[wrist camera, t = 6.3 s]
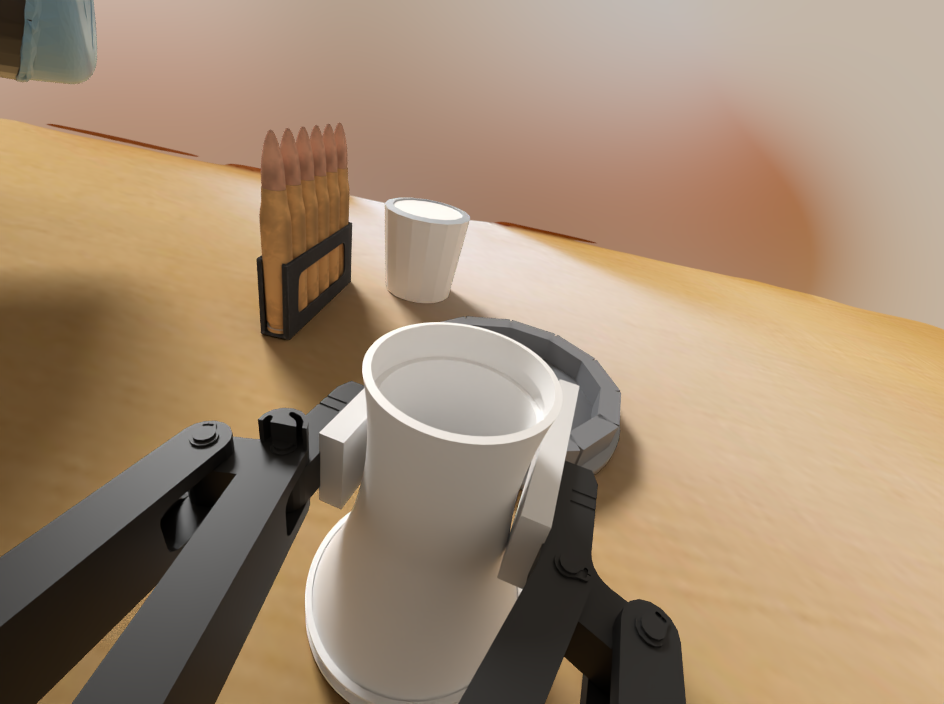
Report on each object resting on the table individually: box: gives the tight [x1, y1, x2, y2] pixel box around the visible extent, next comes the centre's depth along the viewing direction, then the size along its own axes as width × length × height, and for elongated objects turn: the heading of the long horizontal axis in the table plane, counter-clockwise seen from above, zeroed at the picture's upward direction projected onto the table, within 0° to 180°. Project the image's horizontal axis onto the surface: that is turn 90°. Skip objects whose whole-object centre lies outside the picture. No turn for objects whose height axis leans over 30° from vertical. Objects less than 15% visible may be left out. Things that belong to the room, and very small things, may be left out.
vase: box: [305, 322, 563, 704], centre depth 13 cm, size 8×8×10 cm
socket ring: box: [442, 316, 621, 490], centre depth 26 cm, size 14×14×2 cm
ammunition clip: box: [257, 123, 352, 340], centre depth 29 cm, size 11×2×12 cm, turn 172°
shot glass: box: [385, 198, 470, 303], centre depth 36 cm, size 7×7×7 cm
